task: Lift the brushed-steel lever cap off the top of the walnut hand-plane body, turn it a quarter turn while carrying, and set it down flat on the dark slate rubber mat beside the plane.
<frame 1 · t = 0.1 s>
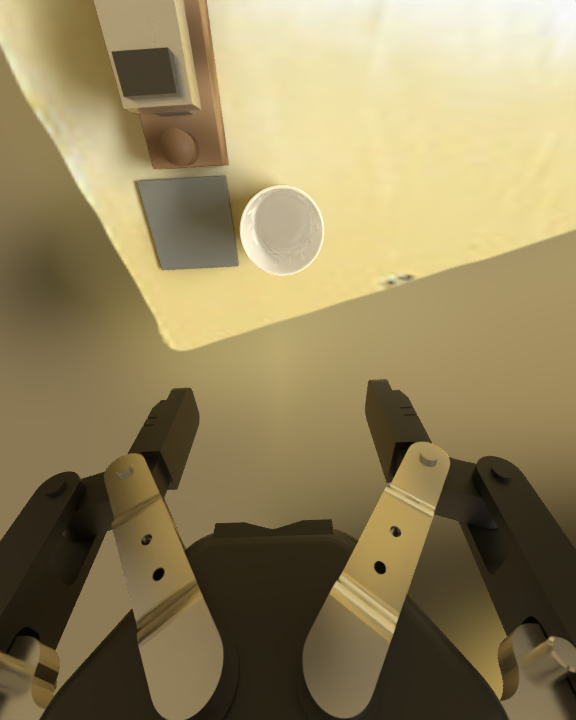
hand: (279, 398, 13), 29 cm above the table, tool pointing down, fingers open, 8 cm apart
white cup: (282, 218, 36), on the table
slate mat: (192, 226, 36), on the table
plane body: (178, 60, 28), on the table
lever cap: (154, 38, 23), point 6 cm above the table, touching plane body
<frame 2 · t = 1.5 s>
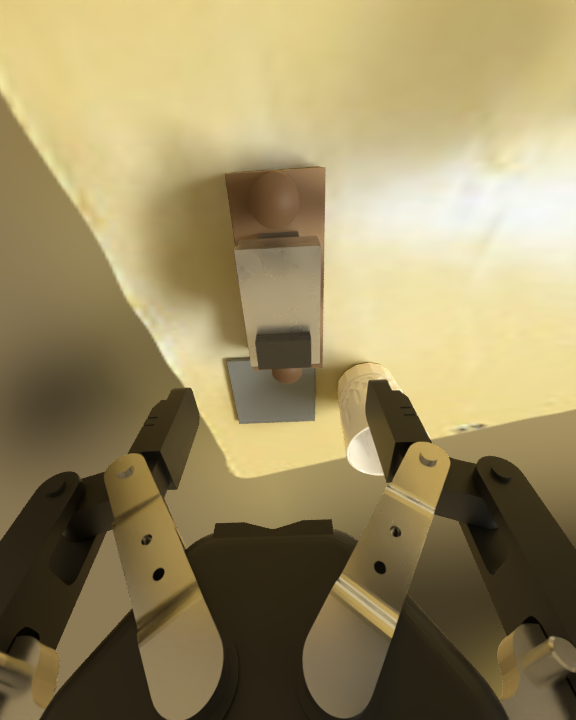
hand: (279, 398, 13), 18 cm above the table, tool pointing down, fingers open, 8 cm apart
white cup: (364, 383, 36), on the table
slate mat: (274, 390, 37), on the table
plane body: (283, 273, 29), on the table
lever cap: (282, 297, 24), point 6 cm above the table, touching plane body
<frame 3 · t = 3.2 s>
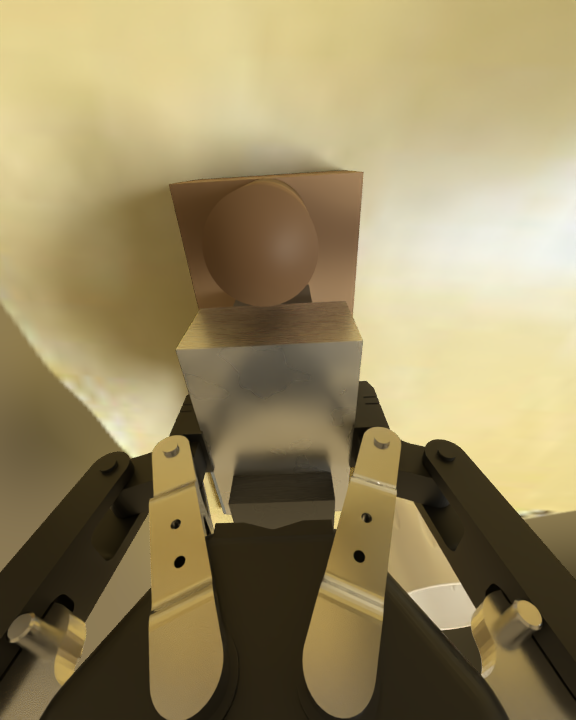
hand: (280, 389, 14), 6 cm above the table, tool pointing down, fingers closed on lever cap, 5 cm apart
white cup: (394, 466, 26), on the table
plane body: (282, 333, 19), on the table
lever cap: (280, 395, 14), point 6 cm above the table, touching gripper, plane body
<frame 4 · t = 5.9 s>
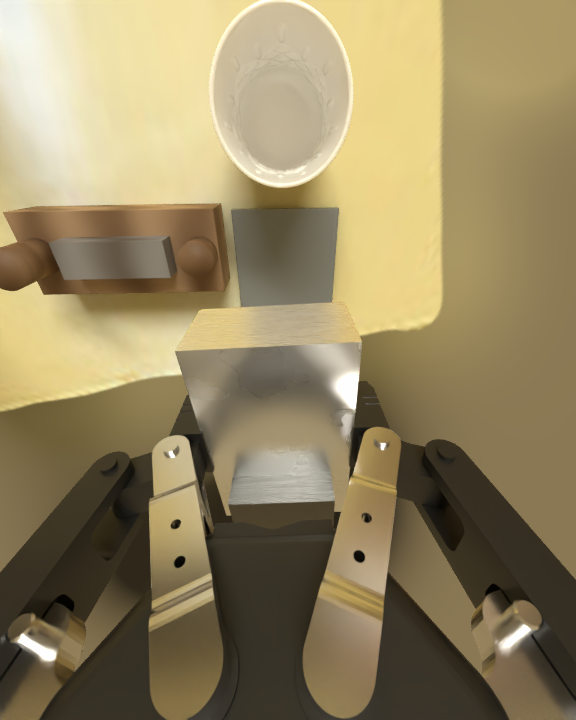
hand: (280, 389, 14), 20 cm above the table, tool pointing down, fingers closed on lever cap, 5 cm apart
white cup: (280, 125, 25), on the table
slate mat: (285, 262, 31), on the table
plane body: (140, 244, 29), on the table
lever cap: (280, 396, 14), point 21 cm above the table, touching gripper
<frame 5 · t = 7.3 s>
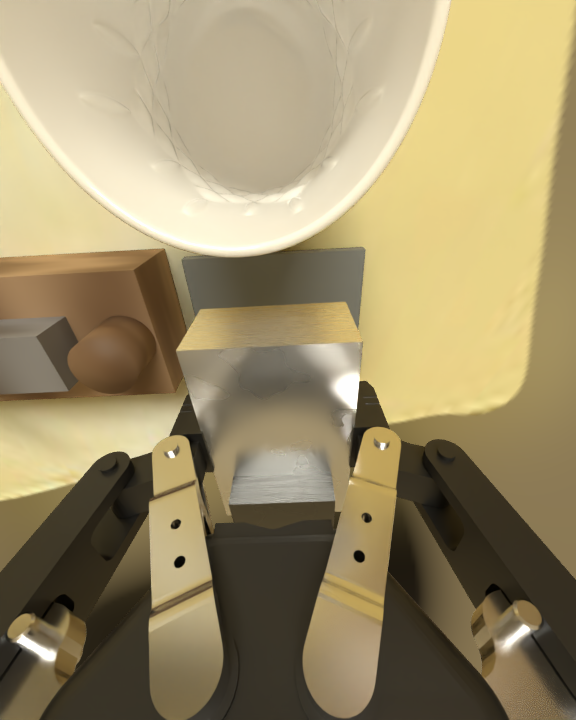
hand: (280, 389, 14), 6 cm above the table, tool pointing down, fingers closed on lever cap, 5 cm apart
white cup: (256, 108, 13), on the table
slate mat: (279, 331, 19), on the table
plane body: (45, 314, 18), on the table
lever cap: (280, 396, 14), point 7 cm above the table, touching gripper
when the fingers open (2 cm above the table, at t = 8.7 s): lever cap drops 2 cm, resting on slate mat.
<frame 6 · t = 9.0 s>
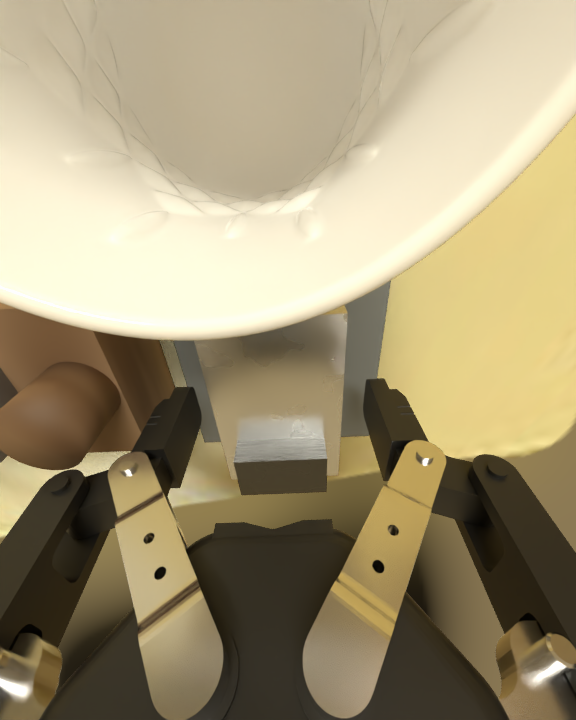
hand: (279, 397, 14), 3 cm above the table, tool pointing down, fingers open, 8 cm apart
white cup: (250, 83, 10), on the table
slate mat: (280, 366, 16), on the table
lever cap: (279, 372, 15), point 1 cm above the table, touching slate mat
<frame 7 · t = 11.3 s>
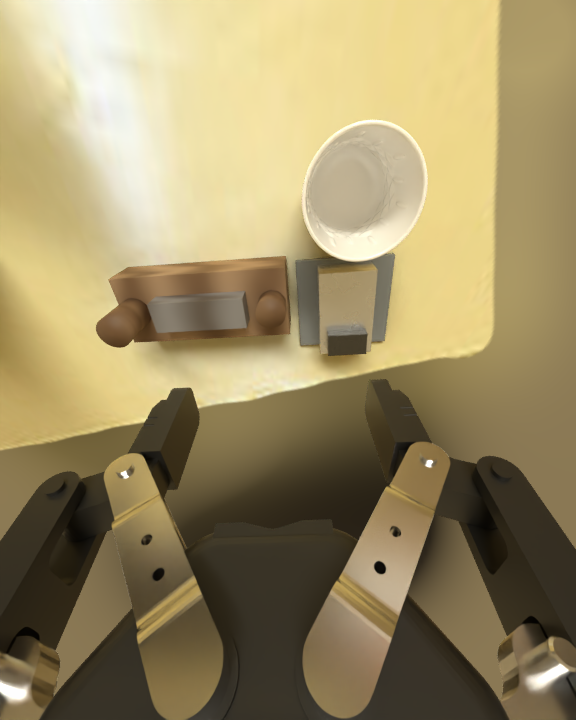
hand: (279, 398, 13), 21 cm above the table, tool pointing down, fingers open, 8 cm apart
white cup: (342, 188, 27), on the table
slate mat: (342, 302, 33), on the table
plane body: (212, 293, 33), on the table
lever cap: (342, 304, 33), point 1 cm above the table, touching slate mat
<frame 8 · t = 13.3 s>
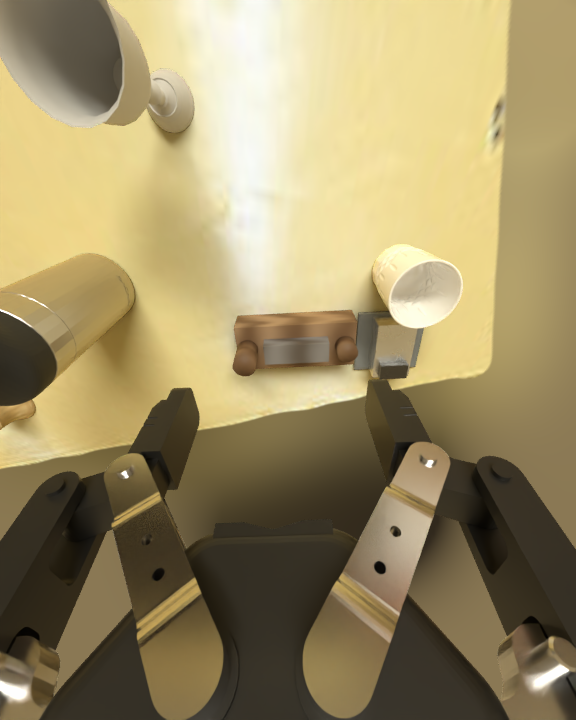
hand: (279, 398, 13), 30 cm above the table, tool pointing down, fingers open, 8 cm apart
hand bell: (11, 400, 53), on the table
white cup: (395, 268, 41), on the table
slate mat: (387, 340, 46), on the table
chalice: (170, 102, 31), on the table
plane body: (295, 333, 46), on the table
lever cap: (388, 342, 46), point 1 cm above the table, touching slate mat
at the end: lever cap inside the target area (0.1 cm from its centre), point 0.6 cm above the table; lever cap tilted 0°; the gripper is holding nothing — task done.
